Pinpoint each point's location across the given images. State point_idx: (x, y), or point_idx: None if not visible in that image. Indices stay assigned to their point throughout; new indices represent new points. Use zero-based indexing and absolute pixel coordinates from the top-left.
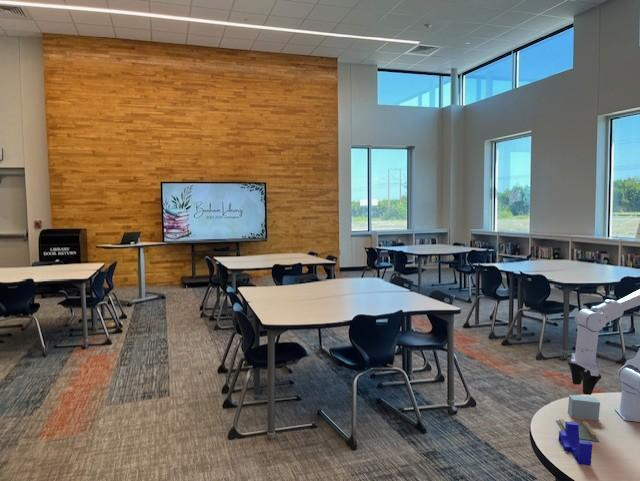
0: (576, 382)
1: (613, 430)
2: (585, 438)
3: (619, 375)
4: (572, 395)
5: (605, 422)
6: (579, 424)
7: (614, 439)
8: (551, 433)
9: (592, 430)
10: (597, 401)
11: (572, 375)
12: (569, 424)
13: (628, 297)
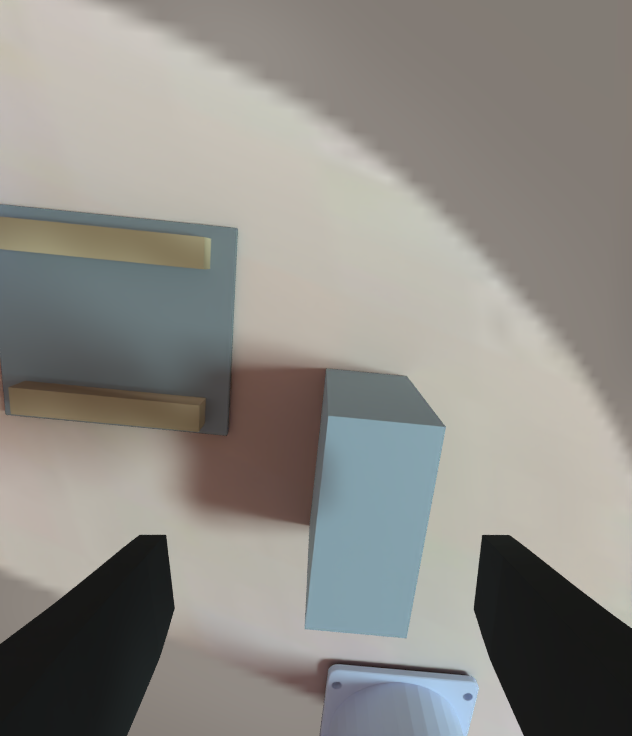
0: (491, 587)
1: (190, 554)
2: (6, 336)
3: None
4: (436, 454)
5: (289, 554)
6: (205, 378)
7: (73, 511)
8: (22, 111)
9: (77, 416)
10: (326, 618)
11: (576, 623)
12: None
13: None
